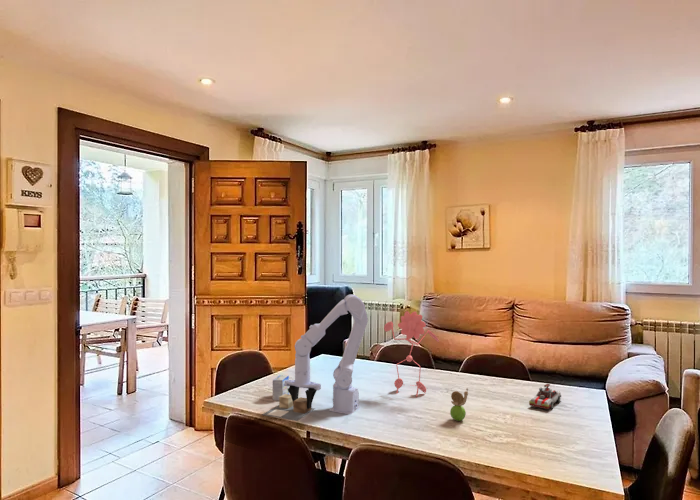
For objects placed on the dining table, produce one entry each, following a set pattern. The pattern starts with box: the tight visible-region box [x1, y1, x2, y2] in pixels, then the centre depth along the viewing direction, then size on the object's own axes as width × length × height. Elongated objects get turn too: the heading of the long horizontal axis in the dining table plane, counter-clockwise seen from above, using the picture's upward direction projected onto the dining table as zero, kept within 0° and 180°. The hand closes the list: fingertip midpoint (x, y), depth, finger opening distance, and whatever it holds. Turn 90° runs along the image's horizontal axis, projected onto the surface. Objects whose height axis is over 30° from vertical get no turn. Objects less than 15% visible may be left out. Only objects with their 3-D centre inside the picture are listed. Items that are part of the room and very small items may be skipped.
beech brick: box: [278, 394, 293, 409], centre depth 177 cm, size 4×4×4 cm
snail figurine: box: [449, 388, 469, 422], centre depth 164 cm, size 5×6×12 cm
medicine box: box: [272, 374, 290, 402], centre depth 189 cm, size 8×4×9 cm, turn 168°
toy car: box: [528, 383, 562, 410], centre depth 182 cm, size 8×18×8 cm, turn 140°
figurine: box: [383, 310, 440, 398], centre depth 199 cm, size 15×26×35 cm, turn 60°
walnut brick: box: [293, 396, 313, 414], centre depth 173 cm, size 5×5×4 cm
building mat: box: [261, 405, 316, 422], centre depth 172 cm, size 15×14×1 cm
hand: (302, 406), depth 173 cm, fingers closed on walnut brick, 5 cm apart
